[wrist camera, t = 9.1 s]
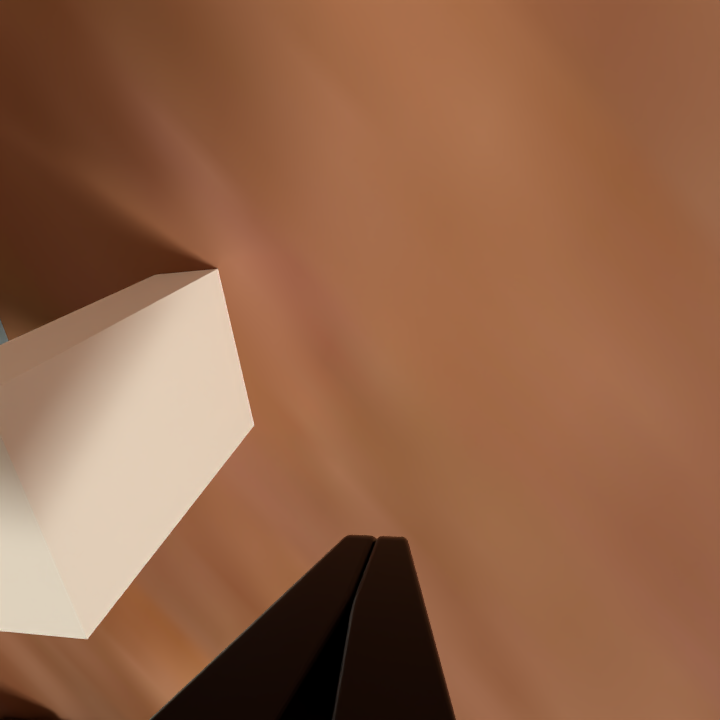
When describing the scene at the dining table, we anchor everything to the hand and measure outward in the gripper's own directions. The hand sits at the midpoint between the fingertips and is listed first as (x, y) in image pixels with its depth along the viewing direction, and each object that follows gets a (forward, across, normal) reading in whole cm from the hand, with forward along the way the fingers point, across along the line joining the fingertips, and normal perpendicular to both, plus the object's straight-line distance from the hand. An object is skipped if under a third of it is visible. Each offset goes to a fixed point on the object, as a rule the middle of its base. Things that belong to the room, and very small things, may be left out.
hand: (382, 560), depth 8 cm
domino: (+8, +7, 0) cm, 11 cm away
